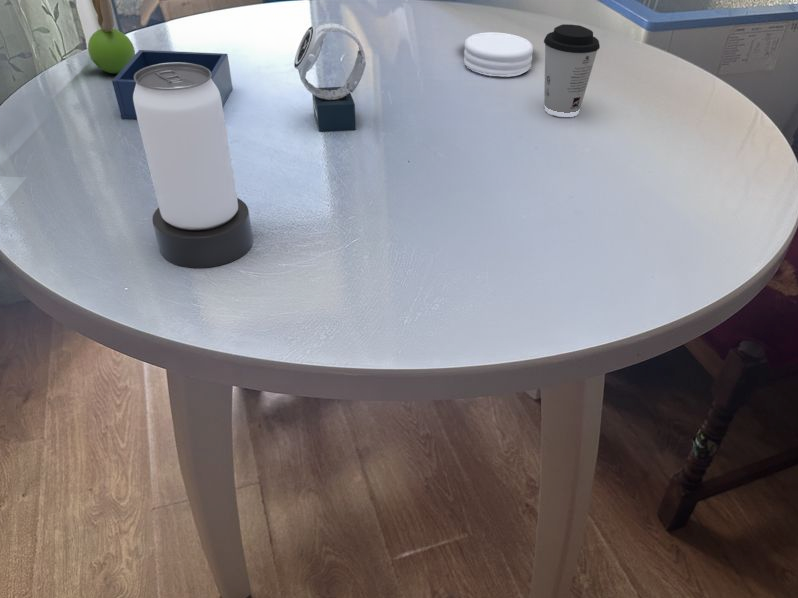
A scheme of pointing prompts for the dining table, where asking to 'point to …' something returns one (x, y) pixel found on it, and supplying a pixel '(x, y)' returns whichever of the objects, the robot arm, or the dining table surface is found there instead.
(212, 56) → the blue open box
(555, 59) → the coffee cup
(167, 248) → the stand
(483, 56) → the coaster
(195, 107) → the can
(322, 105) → the watch
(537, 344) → the dining table surface
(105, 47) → the green maraca
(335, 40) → the dining table surface
